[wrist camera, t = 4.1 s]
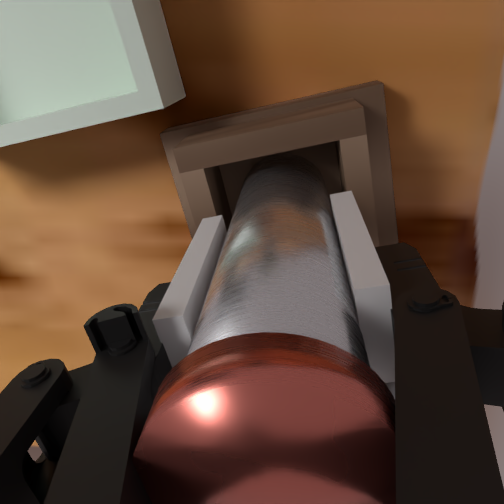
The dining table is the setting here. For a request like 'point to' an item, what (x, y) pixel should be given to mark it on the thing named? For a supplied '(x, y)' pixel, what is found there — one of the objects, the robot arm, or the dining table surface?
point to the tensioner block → (292, 142)
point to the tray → (82, 64)
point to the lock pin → (274, 367)
